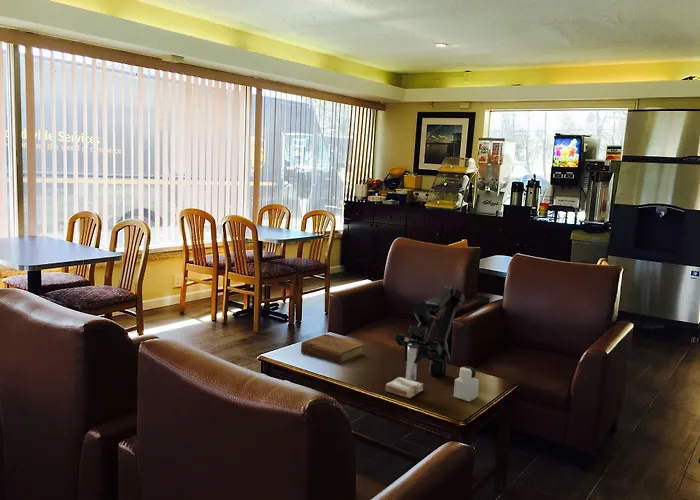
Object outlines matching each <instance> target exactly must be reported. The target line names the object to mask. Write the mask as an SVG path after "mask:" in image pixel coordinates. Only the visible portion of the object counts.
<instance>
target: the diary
mask: <svg viewBox="0 0 700 500" xmlns="http://www.w3.org/2000/svg"><path fill="white" fill-rule="evenodd" d="M364 346H365V343H362V342H358V341H354V340H351V339H350V340H349V339H346V338H343V337H339V336H335V335H330V334H328V333H326V334H322V335H319V336H315V337H312V338H310V339H309V338H308V339H306V340H304V341H302V342H301V344H300V352H301V353H302V354H306V355H310V356H311V357H312V356H313V357H315V358H320V359H322V360H327V361H330V362H331V363H333V362H334V363H336V364H340V365H342V364H344V363H346V362H349V361H352V360H353V359H356V358H359V357H361V356H363V355H364V352H363V347H364Z"/></svg>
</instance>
